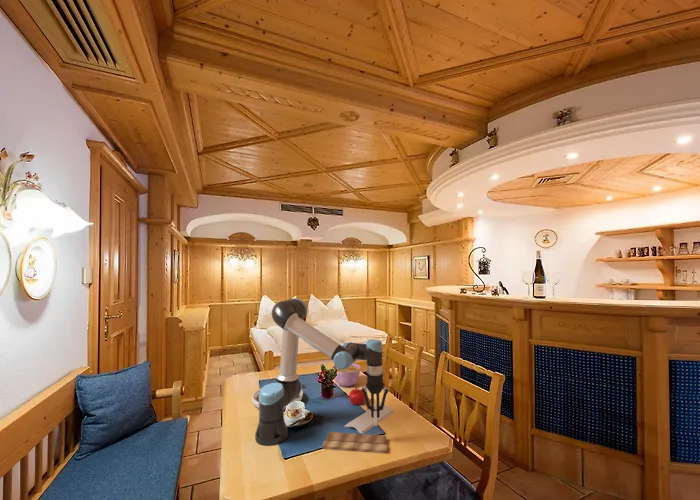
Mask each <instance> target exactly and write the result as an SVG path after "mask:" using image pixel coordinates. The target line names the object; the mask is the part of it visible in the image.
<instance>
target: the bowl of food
mask: <svg viewBox="0 0 700 500" xmlns="http://www.w3.org/2000/svg"><path fill="white" fill-rule="evenodd" d="M333 368H334V369H337V370H338V371H337V376H336V378H335V379H334V381H335V383H336V384H338V385H340V386H341V387H346V388H347V387H351V386H353V385H355V384H357V382H358V381H359V378H360V373H361V365H359V364H357V363H353V364H352V365H351V366H350V367H348V368H346V369H344V370H340V369H338V368H337V367H336V366H335V364H333V365H332V367H331V370H332V369H333Z"/></svg>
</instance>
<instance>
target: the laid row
mask: <svg viewBox="0 0 700 500" xmlns="http://www.w3.org/2000/svg"><path fill="white" fill-rule="evenodd" d="M321 448H322V450H334V451H349V452H362V453H363V452H365V453H376V454H377V453H378V454H388V444H387V443H386V444H371V443H355V442H341V441H327V440H326V439H325V440H323V442H322V446H321Z"/></svg>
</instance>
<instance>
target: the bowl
mask: <svg viewBox="0 0 700 500" xmlns="http://www.w3.org/2000/svg"><path fill="white" fill-rule="evenodd" d="M261 389H262V387H261V388H260V389H257V390H256V391H255V392H254V393H253V394H252V396H251V402H252V403H253V404H252V405H253V406H255V408H257V409H259V393H260V390H261ZM303 395H304V391H303V390H302V389H301V392H300V394H299V396H298V397H297V398H296V399H295V400H294V401H300V402H301V401H302V398H303V397H304V396H303ZM294 401H292V402H294ZM285 410H287V409H286V407H284V411H285Z"/></svg>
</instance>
